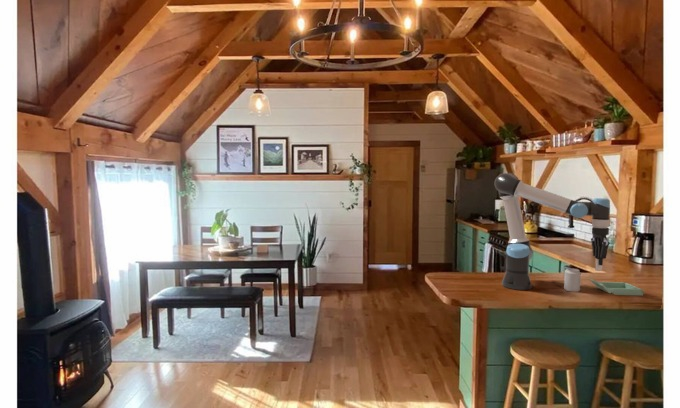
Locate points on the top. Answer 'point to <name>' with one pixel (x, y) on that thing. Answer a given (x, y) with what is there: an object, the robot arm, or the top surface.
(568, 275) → the can
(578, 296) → the top surface
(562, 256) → the top surface
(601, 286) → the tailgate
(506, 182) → the robot arm
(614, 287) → the green open box
